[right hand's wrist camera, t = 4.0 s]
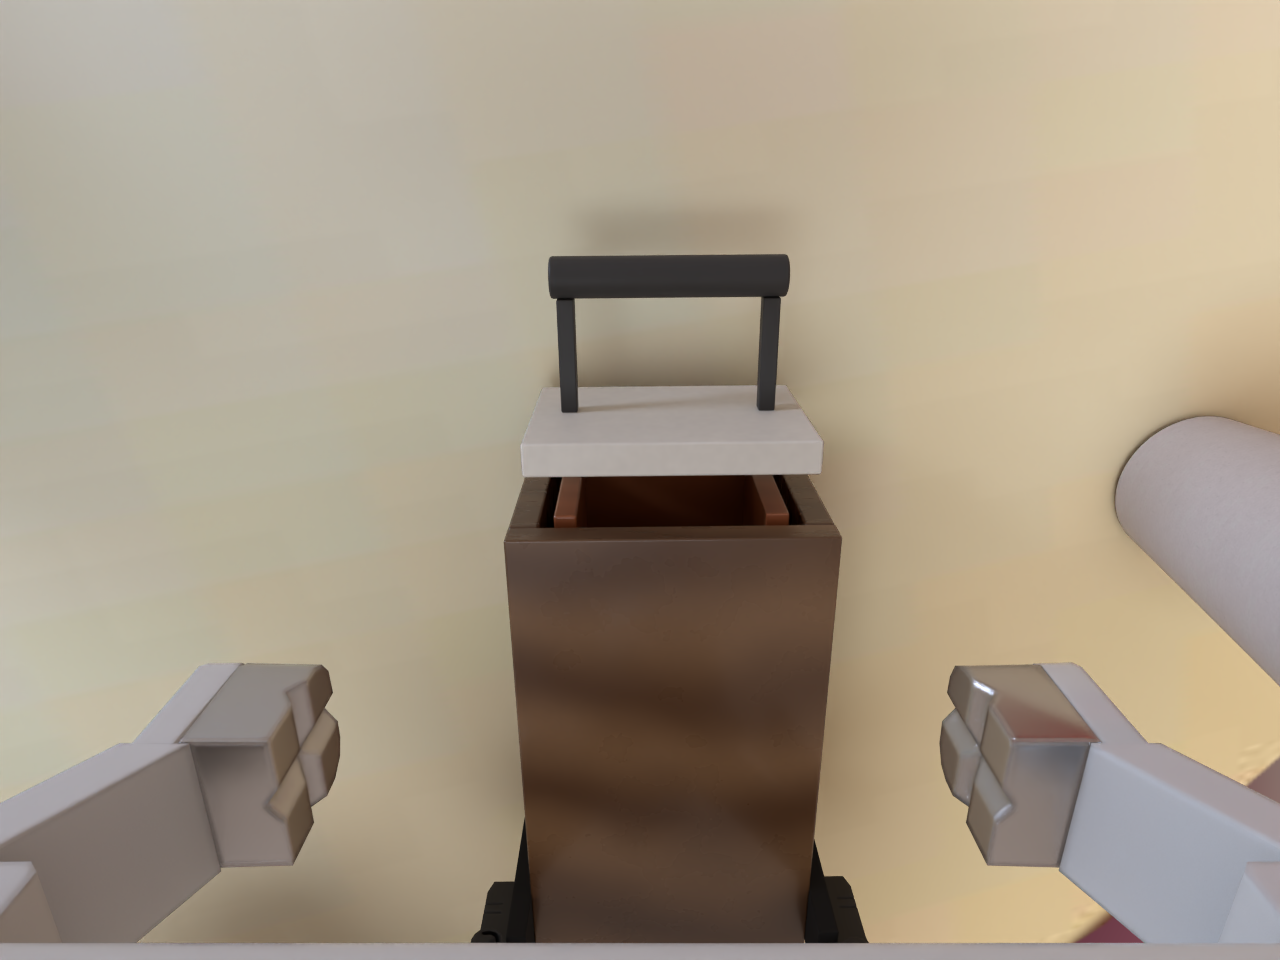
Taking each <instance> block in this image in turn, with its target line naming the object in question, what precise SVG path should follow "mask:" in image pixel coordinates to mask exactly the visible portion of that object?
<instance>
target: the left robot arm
mask: <svg viewBox="0 0 1280 960" xmlns="http://www.w3.org/2000/svg"><path fill="white" fill-rule="evenodd" d="M804 939H805V943H869V942H868V941H867V939H866V936H865V933H864V930H863V926H862V923H861V920H860V916H859V913H858V910H857V907H856V903H855V899H854V896H853V893H852V889H851V886H850V885H849V884H848V882H847V881H846V880H845V878H844V877H843V876H824V874H823V871H822V867H821V863H820V859H819V855H818V852H817V848H816V844H815V840H814V843H813V854H812V864H811V875H810V886H809V895H808V906H807V917H806V927H805V938H804ZM471 943H535V936H534V923H533V910H532V897H531V886H530V874H529V861H528V848H527V835H526V822H525V819H524V826H523V832H522V838H521V844H520V851H519V857H518V863H517V870H516V876H515V882H494V884H493V885H492V887H491V888H490V890H489V891H488V894H487V899H486V905H485V909H484V915H483V920H482V925H481V930H480V931H478V932H477V933H476V934H475V935H474V936H473V938H472V939H471Z"/></svg>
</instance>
